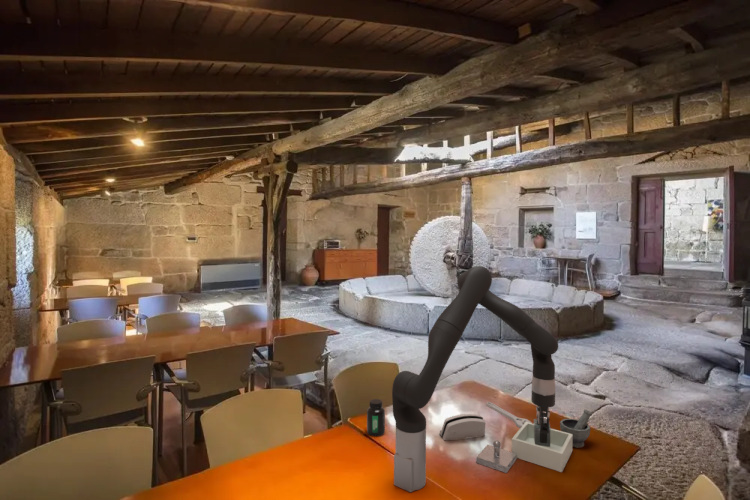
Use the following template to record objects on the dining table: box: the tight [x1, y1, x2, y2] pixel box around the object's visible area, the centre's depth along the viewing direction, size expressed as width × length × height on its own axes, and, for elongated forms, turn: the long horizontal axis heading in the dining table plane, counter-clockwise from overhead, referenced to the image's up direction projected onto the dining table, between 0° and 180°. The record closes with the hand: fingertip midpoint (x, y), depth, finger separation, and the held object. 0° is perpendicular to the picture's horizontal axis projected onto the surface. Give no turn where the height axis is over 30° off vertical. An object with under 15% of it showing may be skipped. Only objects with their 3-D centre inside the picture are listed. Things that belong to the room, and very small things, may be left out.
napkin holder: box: [439, 413, 486, 441], centre depth 153 cm, size 17×5×10 cm, turn 103°
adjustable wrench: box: [485, 401, 532, 429], centre depth 171 cm, size 25×6×2 cm, turn 19°
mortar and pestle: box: [559, 409, 593, 449], centre depth 149 cm, size 11×9×12 cm
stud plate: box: [475, 440, 518, 474], centre depth 137 cm, size 10×10×7 cm
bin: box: [511, 422, 573, 473], centre depth 141 cm, size 16×16×6 cm
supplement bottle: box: [366, 398, 386, 437], centre depth 156 cm, size 7×7×12 cm
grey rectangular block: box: [533, 418, 551, 447], centre depth 141 cm, size 5×5×7 cm
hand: (542, 438), depth 141 cm, fingers closed on grey rectangular block, 4 cm apart
